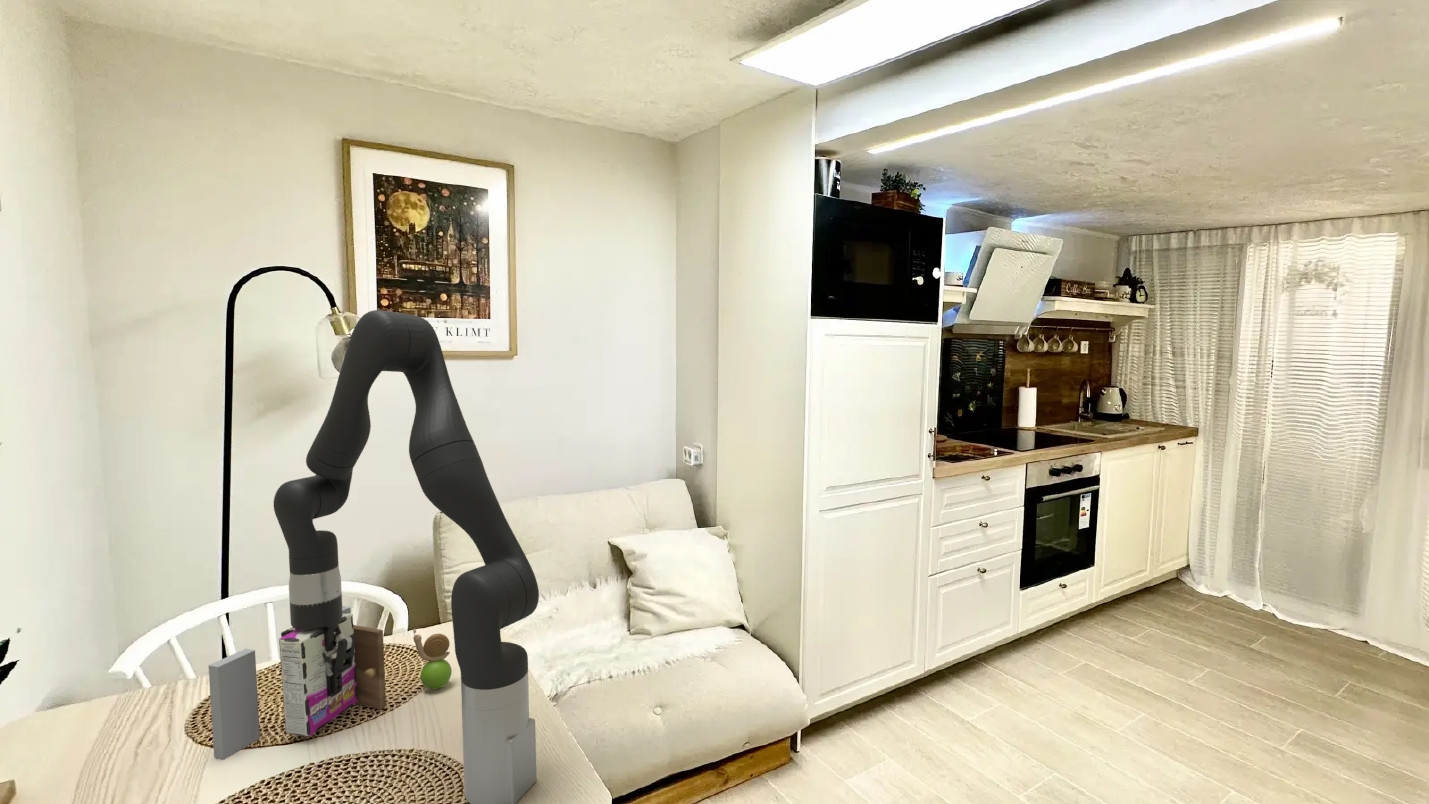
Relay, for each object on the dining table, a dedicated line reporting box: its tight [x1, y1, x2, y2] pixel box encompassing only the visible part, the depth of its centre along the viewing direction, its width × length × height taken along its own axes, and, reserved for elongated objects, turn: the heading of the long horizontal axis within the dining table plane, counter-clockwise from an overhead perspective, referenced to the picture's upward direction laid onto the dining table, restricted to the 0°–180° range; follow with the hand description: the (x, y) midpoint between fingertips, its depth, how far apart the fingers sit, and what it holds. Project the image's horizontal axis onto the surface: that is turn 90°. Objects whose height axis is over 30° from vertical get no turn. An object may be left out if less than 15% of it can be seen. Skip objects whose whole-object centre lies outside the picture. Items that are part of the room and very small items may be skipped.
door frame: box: [208, 605, 352, 761], centre depth 115 cm, size 2×25×15 cm, turn 163°
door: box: [353, 624, 387, 710], centre depth 119 cm, size 2×12×14 cm, turn 71°
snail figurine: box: [412, 628, 452, 690], centre depth 125 cm, size 5×6×12 cm
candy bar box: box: [278, 613, 358, 737], centre depth 112 cm, size 11×5×16 cm, turn 168°
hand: (320, 691), depth 112 cm, fingers closed on candy bar box, 5 cm apart
